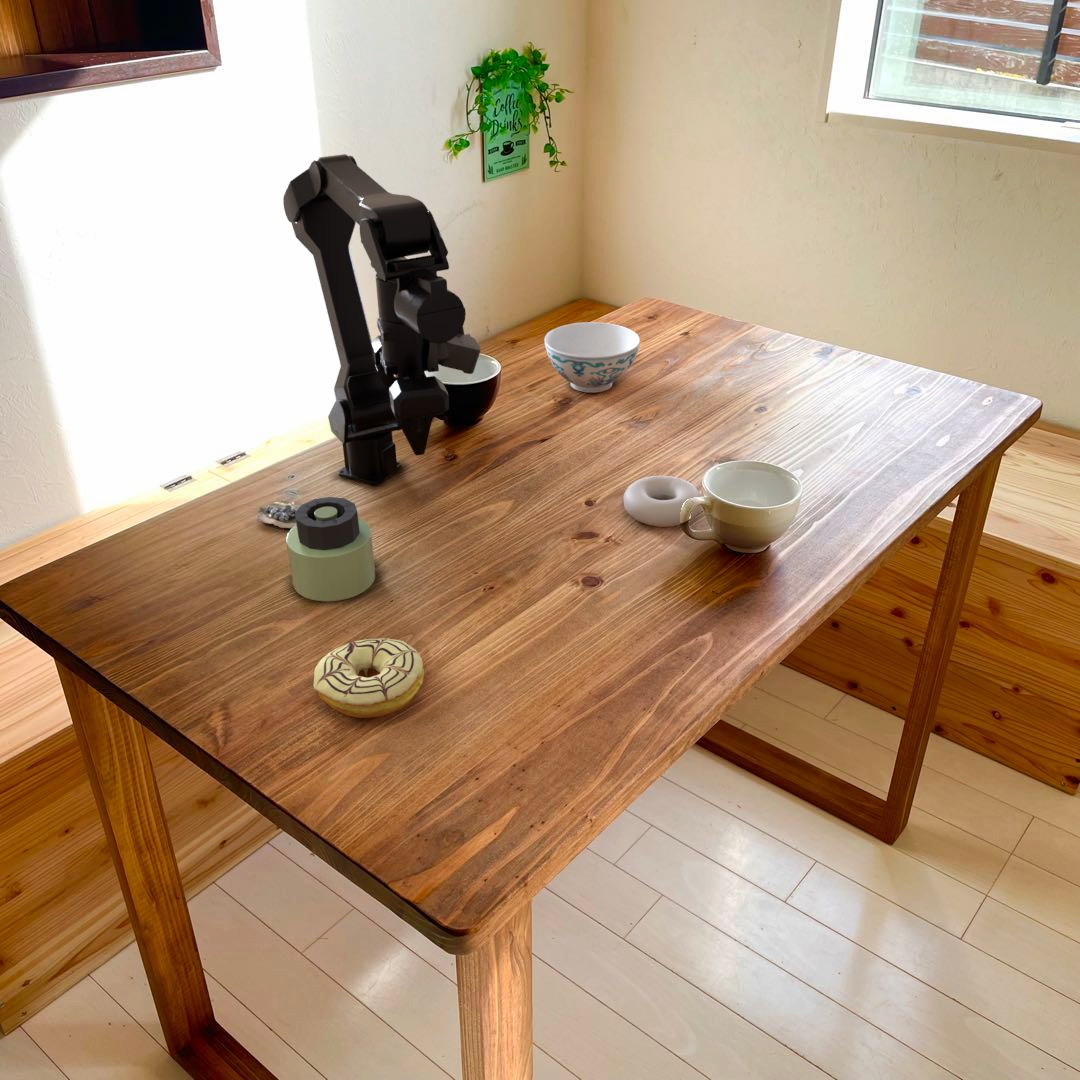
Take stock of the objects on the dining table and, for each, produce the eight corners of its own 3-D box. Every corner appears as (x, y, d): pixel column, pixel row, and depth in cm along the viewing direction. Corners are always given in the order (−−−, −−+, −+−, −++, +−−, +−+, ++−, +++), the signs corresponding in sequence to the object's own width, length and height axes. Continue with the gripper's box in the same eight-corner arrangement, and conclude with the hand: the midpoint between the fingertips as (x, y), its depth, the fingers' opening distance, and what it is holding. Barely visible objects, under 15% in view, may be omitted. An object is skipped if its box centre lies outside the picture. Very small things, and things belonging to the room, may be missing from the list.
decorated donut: (347, 651, 117) (343, 622, 115) (440, 670, 114) (438, 640, 112) (298, 711, 109) (294, 681, 107) (397, 734, 106) (394, 703, 104)
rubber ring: (289, 546, 124) (285, 523, 123) (313, 516, 130) (310, 494, 128) (345, 553, 123) (343, 529, 121) (367, 522, 128) (365, 500, 127)
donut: (617, 528, 139) (697, 535, 137) (618, 504, 137) (699, 510, 135) (628, 491, 147) (703, 496, 145) (628, 468, 145) (705, 473, 143)
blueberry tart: (263, 504, 145) (261, 491, 144) (324, 503, 145) (322, 490, 144) (252, 530, 139) (250, 517, 138) (316, 529, 139) (314, 516, 138)
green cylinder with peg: (275, 588, 128) (264, 521, 123) (326, 549, 135) (318, 484, 130) (342, 610, 124) (334, 541, 119) (391, 569, 131) (385, 502, 126)
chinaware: (641, 403, 171) (643, 356, 167) (544, 403, 171) (543, 357, 167) (635, 366, 184) (636, 321, 180) (545, 366, 184) (544, 322, 180)
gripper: (491, 336, 120) (495, 463, 128) (456, 282, 135) (462, 399, 144) (389, 347, 118) (400, 476, 126) (366, 291, 133) (376, 409, 141)
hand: (413, 437), depth 134 cm, fingers open, 9 cm apart
